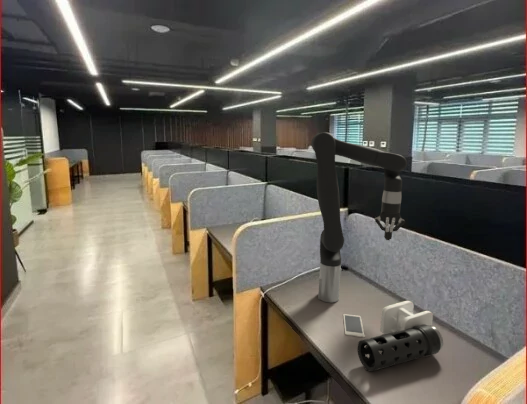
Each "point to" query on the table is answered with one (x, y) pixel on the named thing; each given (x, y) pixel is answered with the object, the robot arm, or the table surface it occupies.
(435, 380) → the table surface
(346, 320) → the phone
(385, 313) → the white toothbrush holder
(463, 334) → the table surface
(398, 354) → the muzzle brake
